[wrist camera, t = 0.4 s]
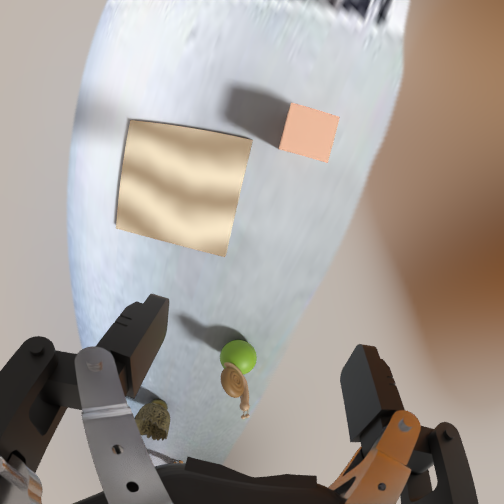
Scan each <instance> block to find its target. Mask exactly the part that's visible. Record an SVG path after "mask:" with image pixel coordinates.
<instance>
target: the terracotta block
mask: <svg viewBox="0 0 504 504" xmlns="http://www.w3.org/2000/svg"><path fill="white" fill-rule="evenodd" d="M339 118H340V117H338V116H335V115H332V114H329V113H325V112H322V111H319V110H316V109H312V108H309V107H305V106H302V105H298V104H294V103H291V105H290V108H289V111H288V114H287V118H286V122H285V126H284V129H283V133H282V137H281V141H280V145H279V149H280V150H284V151H288V152H292V153H295V154H299V155H302V156H306V157H309V158H313V159H316V160H319V161H323V162H326V163H328V160H329V156H330V152H331V148H332V145H333V141H334V137H335V133H336V130H337V126H338V122H339Z"/></svg>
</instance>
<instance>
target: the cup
mask: <svg viewBox="0 0 504 504" xmlns="http://www.w3.org/2000/svg"><path fill="white" fill-rule="evenodd" d="M167 409H168V407H167V404H166V403H165V402H164V401H162V400H159V399H154V400H153V401H152V402H151V403H148V404H145V405H144V406H143V407H142V408H141V409H140V410H139V412H138V413H137V415H136V416H135V418H134V419H135V421H136V424H137V427H138V429H139V432H140V434H141V435H147V438H150V437H151V435H152V439H153V440H156V439H157V441H158V440H159V439H161V438H162V441H163V440H164V438H165V439H167V435H168V430H169V425H170V415H169V412H168V411H167Z"/></svg>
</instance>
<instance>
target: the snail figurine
mask: <svg viewBox="0 0 504 504" xmlns="http://www.w3.org/2000/svg"><path fill="white" fill-rule="evenodd" d="M256 359H257V357H256V352H255V350H254V348H253V347H252V346H251V345H250V344H249V343H248V342H246V341H243V340H234V341H231V342H229V343H227V344H226V345H225V346H224V347H223V349H222V351H221V354H220V361H221V364H222V366H223V368H224V370H223V371H222V373H221V384H222V387H223V389H224V390H225V392H226V393H227V394H228V395H229V396H231V397H234V398H237V397H240V398H241V403H240V409H241V410H243V411H247V410H248V409H249V391H248V385H247V381H246V379H245V377H244V376H243V374H246V373H248V372H250V371H251V370H252V369H253V367H254V366H255V364H256ZM245 417H246V418H248V417H249V414H248V413H247V414H246V415H245V416H244V414H243V415H242V416H241V418H242V419H244V418H245Z"/></svg>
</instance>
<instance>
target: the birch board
mask: <svg viewBox="0 0 504 504" xmlns="http://www.w3.org/2000/svg"><path fill="white" fill-rule="evenodd" d="M252 141H253V140H250V139H245V138H241V137H236V136H231V135H226V134H221V133H216V132H211V131H205V130H200V129H194V128H188V127H181V126H175V125H168V124H160V123H152V122H143V121H134V120H130V125H129V130H128V135H127V141H126V147H125V153H124V159H123V166H122V173H121V181H120V189H119V199H118V209H117V222H116V229H120V230H124V231H127V232H131V233H135V234H139V235H142V236H146V237H150V238H154V239H157V240H161V241H165V242H169V243H173V244H176V245H180V246H184V247H188V248H192V249H196V250H199V251H203V252H207V253H211V254H215V255H219V256H223V257H225V256H226V253H227V248H228V244H229V239H230V235H231V230H232V226H233V221H234V217H235V213H236V208H237V204H238V200H239V195H240V191H241V187H242V183H243V178H244V174H245V170H246V166H247V162H248V158H249V154H250V150H251V145H252Z"/></svg>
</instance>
